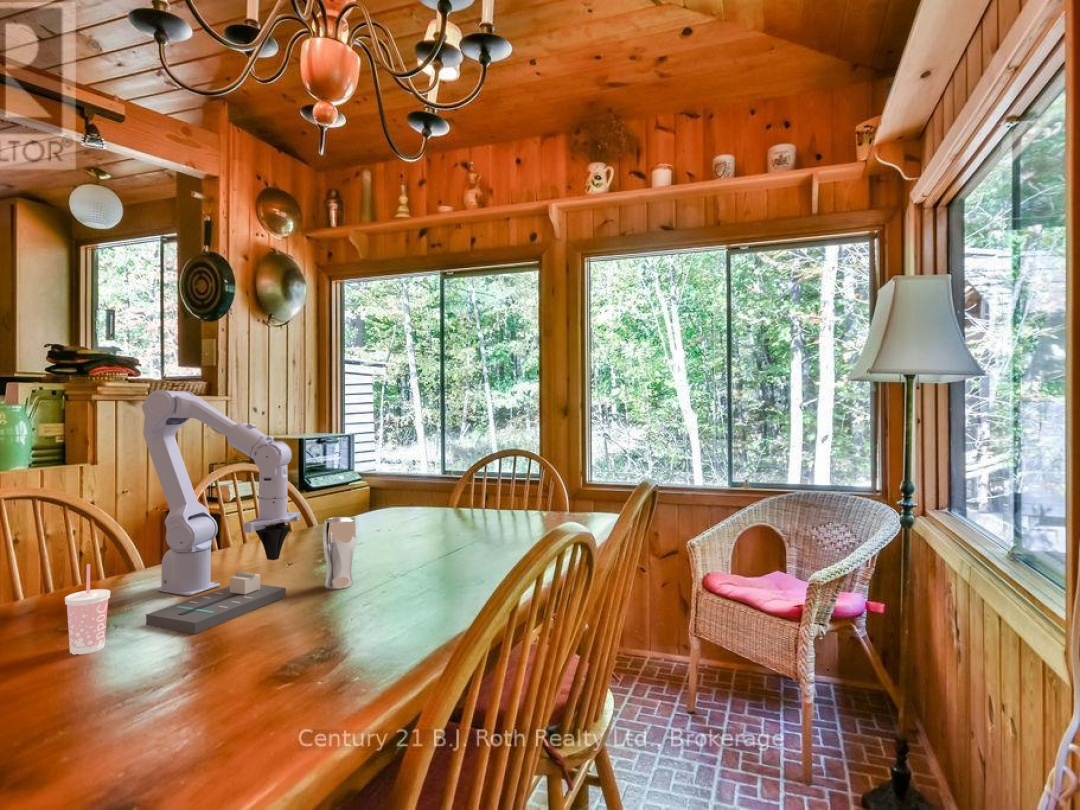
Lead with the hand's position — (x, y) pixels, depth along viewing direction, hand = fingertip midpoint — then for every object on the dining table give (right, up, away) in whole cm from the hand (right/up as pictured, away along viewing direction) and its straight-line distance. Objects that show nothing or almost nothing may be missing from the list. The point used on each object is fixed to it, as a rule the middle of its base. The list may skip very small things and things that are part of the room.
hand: (272, 559), depth 131 cm
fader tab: (-3, -5, -7) cm, 9 cm away
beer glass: (+13, -7, +4) cm, 16 cm away
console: (-5, -7, -13) cm, 15 cm away
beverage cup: (-17, -7, -32) cm, 37 cm away
